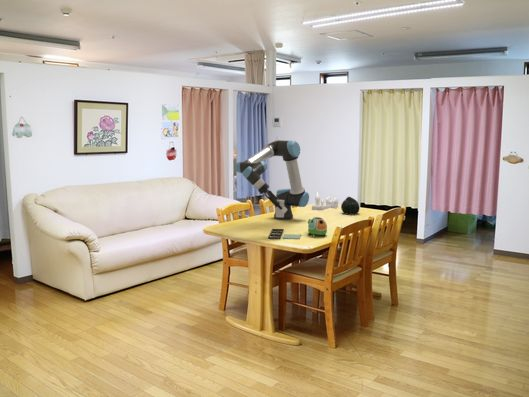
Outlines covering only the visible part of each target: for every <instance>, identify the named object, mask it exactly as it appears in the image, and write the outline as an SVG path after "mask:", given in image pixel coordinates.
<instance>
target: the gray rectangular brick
mask: <svg viewBox="0 0 529 397" xmlns="http://www.w3.org/2000/svg"><path fill="white" fill-rule="evenodd" d="M276 201H277V202H278V203H279V204H281V205H282V206H283V208H284V200H276ZM275 211H276V217H282V218H283V217H284V214H283V213H282V212H281V211H280V209H279V208H278V207H276V206H275Z"/></svg>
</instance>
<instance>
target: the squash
mask: <svg viewBox="0 0 529 397" xmlns="http://www.w3.org/2000/svg"><path fill="white" fill-rule="evenodd" d="M340 209H341V211H342V213H343V214H345V215H357V214H359V212H360V203H359V202H358V201H357V200H356V199H355V198H353V197H351V196H347V197H346V198H345V199H344V200H343V201H342V202H341V205H340Z"/></svg>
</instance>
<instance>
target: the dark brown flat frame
mask: <svg viewBox="0 0 529 397" xmlns="http://www.w3.org/2000/svg"><path fill="white" fill-rule="evenodd" d="M284 231H285V230H284V228H272V229H271V230H270V233H269V235H268V237H267V240H281V239H282V236H283V235H284ZM272 233H275V234H272ZM270 236H271V237H270Z"/></svg>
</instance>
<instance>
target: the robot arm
mask: <svg viewBox="0 0 529 397" xmlns="http://www.w3.org/2000/svg"><path fill="white" fill-rule="evenodd" d="M300 154H301V146H300V144H299V143H298V141H296V140H279V139H278V140H274V141H272V142H270V143H268V144H266V145H265V146H263V147H262V149H261V150H259V151H258V152H256V153H254V154H253V155H251V156H250V157H248V158H247V159H245V160H243V161H238V162H236V163H235V171H236V172H237V173H238V174H239V173H240V174H242V176H243V177H244V179H246V181H248V182H249V183H250V184H251V185H252V186H253V188H254V189H256V190H257V191H258V193H259V194H261V195H263V194H264V195H265V197H266V198H267V199H268V200H269V201H270V202H271V203H272V204H273V205H274V206H275V208H276V207H278V208H279V209H280V211H281V212H282V213H283V214H284V217H283V218H282V217H276V210H275V212H274V214H273V218H274V219H276V220H284V221H285V220H287V221H288V220H292V219H294V215H293V212H292V207H299V208H305V207H306V206H307V205H308V203H309V200H310V194H309V193H308V192H307V191H306V190H305V187H303V184H302V177H301V174H300V168H299V164H298V159H299V156H300ZM272 157H282V160H283V161H284V162H285V166H286V171H287V175H288V179H289V185H290V188H281V189H277V190H276V193H275V194H274V193H273V192H272V190H269V188H270V186H269V184H267V182H266V181H265V180H264V179H263V178H262V177H261V175H263V174H264V173H265V172H266V171H267V169H268V164H267V163H266V161H267V159H270V158H272ZM276 200H284V208H283V206H282V205H281V204H279V203H278V202H277V201H276Z"/></svg>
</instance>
